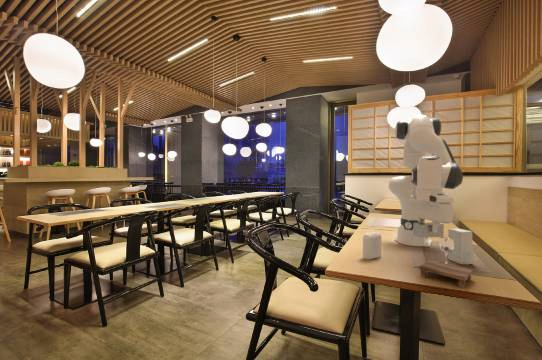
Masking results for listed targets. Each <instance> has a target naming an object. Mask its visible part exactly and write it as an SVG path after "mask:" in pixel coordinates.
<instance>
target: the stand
mask: <svg viewBox="0 0 542 360" xmlns="http://www.w3.org/2000/svg"><path fill="white" fill-rule="evenodd" d="M418 270H419V271H420V272H419V275H420V277H421V278H426V277H427V272H428V273H432V274H437V275H440V276H445V277H449V278H452V279H456V280H458V288H461V289H465V287H466V281H469V282H471V280H472V274H473V273H474V272H473V271H474V270H473V269H472V268H468V267H464V266H463V267H462V266H460V265H459V266H458V265H454V264H451V265H450V263H448V264H446V263H445V262H441V261H440V262H439V261H435V260H432V259H428V260H426V261H425V262H423V263H421V264H420V265H419V266H418Z"/></svg>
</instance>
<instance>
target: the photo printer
mask: <svg viewBox="0 0 542 360" xmlns="http://www.w3.org/2000/svg"><path fill="white" fill-rule="evenodd" d="M380 257H382V234H381V233H380V232H377V231H369V232H366V233H365V234H363V237H362V258H363V259H364V260H373V259H376V258H380Z"/></svg>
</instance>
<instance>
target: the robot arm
mask: <svg viewBox="0 0 542 360" xmlns="http://www.w3.org/2000/svg"><path fill="white" fill-rule="evenodd" d="M442 128H443V124H442V122H441V120H440V119H439V118H435V117H432V118H430V117H429V116H427V115H425V114H418V115H415V116H414V117H412V118H411V119H407V120H405V119H402V120H400V121H397V122H396V125H395V127H394V136H395V138H396V139H398V140H401V141H404V140H405V141H404V145H403V156H402V157H403V161H402V162H403V163H402V164H403V166H404V168H405V169H407V170H409V171H411V175H398V176H394V177H391V179H389V181H388V189H389V191H390V193H392V194H393V195H395V197H396V198H397V199H398V200H399V202H400V207H401V209H400V210H401V217H400V225H399V226H398V227H397V235H396V238H395V237H394V241H396V242H397V243H399V244H401V245H405V246H410V247H427V248H428V247H431V244H432V242H433V240H432V239H430V238H429V237H426V238H420V237H417V236H414V235H413V223H419V221H420V222H423V223H426V220H427V221H431V223H433V226H432V227H430V229H431V230H430V231H431V232H433V233H437V228H438V226H439V225H440V224H452V222H453V220H454V207H453V202H454V198H453V196H450V195H449V194H447V193H445V192H443V189H450V190H454V189H455V188H458V187H459V186H460V185H462V184H463V179H464V176H463V171H462V169H461V167H460V166H459V165H458V163H457V162H456V160H455V158H454V155H453V153H452V151H451V149H450V147H449V144H448V143H447V142H446V140H445V139H443V138H441V137H439V136H440V135H441V132H442V130H443V129H442ZM426 153H427V154H432V155H426Z"/></svg>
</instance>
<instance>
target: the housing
mask: <svg viewBox="0 0 542 360" xmlns="http://www.w3.org/2000/svg"><path fill="white" fill-rule="evenodd" d="M432 226H433V223H432V222H425V223H423V222H420V221H419V223H413V235H414V236H417V237H420V238H426V237H428V238H441V237H444V227H445V223H440V225H439V226H438V228H437V233H433V232H431V231H430V230H431V229H430V227H432Z"/></svg>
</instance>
